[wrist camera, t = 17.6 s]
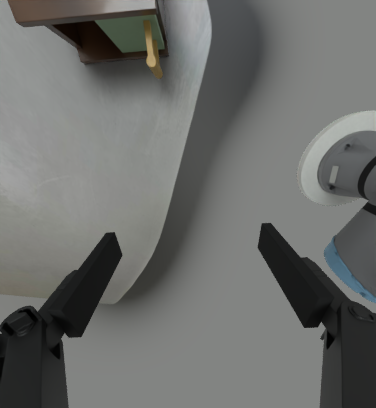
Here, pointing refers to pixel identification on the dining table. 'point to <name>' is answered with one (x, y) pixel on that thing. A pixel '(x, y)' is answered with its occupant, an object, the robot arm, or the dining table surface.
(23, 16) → the cupboard
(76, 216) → the dining table surface
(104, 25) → the sliding door
